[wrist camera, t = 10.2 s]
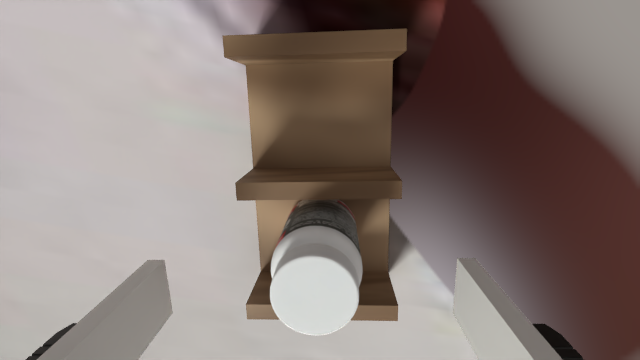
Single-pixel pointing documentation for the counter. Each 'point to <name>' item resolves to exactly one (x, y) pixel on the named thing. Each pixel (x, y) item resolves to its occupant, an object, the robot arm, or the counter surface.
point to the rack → (322, 144)
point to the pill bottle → (317, 268)
